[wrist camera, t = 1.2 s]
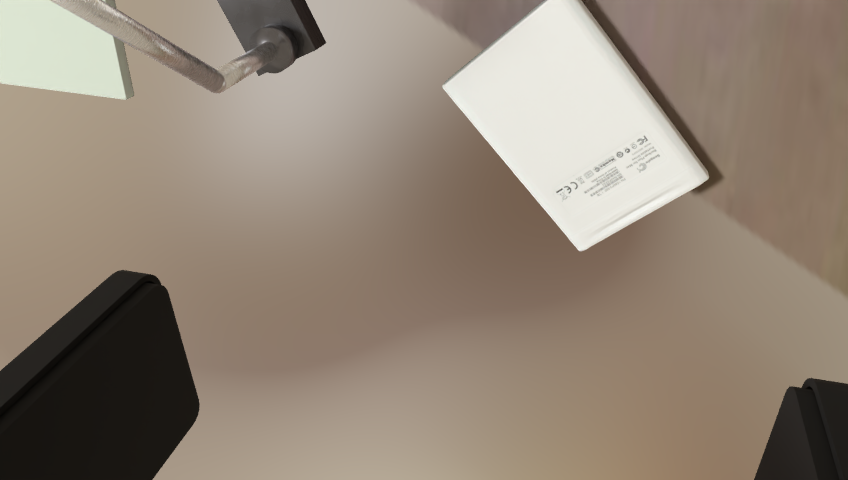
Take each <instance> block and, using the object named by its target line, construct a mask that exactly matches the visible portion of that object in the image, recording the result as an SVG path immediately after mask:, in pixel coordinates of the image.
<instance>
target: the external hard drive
mask: <svg viewBox="0 0 848 480" xmlns="http://www.w3.org/2000/svg"><path fill="white" fill-rule="evenodd" d="M442 88H443V89H444V90H445V91H446V92H447V94H448V95H449V96H450V97H451V98H452V100H453V101H454V102H455V103H456V105H457V106H458V107H459V108H460V109H461V110H462V112H463V113H464V114H465V115H466V116H467V117H468V119H469V120H470V121H471V122H472V123H473V125H474V126H475V127H476V128H477V129H478V130H479V132H480V133H481V134H482V135H483V137H484V138H485V139H486V140H487V141H488V142H489V144H490V145H491V146H492V147H493V149H494V150H495V151H496V152H497V153H498V155H499V156H500V157H501V158H502V159H503V160H504V162H505V163H506V164H507V165H508V166H509V168H510V169H511V170H512V171H513V173H514V174H515V175H516V176H517V177H518V178H519V180H520V181H521V182H522V183H523V184H524V186H525V187H526V188H527V189H528V190H529V192H530V193H531V194H532V195H533V196H534V197H535V199H536V200H537V201H538V202H539V203H540V205H541V206H542V207H543V208H544V209H545V211H546V212H547V213H548V214H549V215H550V217H551V218H552V219H553V220H554V221H555V223H556V224H557V225H558V226H559V227H560V229H561V230H562V231H563V232H564V233H565V234H566V236H567V237H568V238H569V239H570V241H571V242H572V243H573V244H574V245H575V246H576V247H577V249H578V250H579V251H583V250H586V249H588V248H590V247H591V246H593V245H595V244H596V243H598V242H600V241H602V240H604V239H605V238H607V237H609V236H610V235H612V234H614V233H616V232H618V231H619V230H621V229H623V228H625V227H626V226H628V225H630V224H631V223H633V222H635V221H637V220H639V219H641V218H642V217H644V216H646V215H648V214H650V213H651V212H653V211H655V210H657V209H658V208H660V207H662V206H664V205H665V204H667V203H669V202H671V201H673V200H674V199H676V198H678V197H680V196H682V195H683V194H685V193H687V192H689V191H690V190H692V189H694V188H696V187H698V186H700V185H701V184H702V183H704V182H705V181H706V180H708V179H709V174H708V171H707V170H706V168H705V167H704V166H703V164H702V163H701V161H700V160H699V159H698V157H697V156H696V155H695V153H694V152H693V150H692V149H691V148H690V146H689V145H688V144H687V142H686V141H685V140H684V138H683V137H682V136H681V134H680V133H679V131H678V130H677V129H676V127H675V126H674V125H673V123H672V122H671V121H670V119H669V118H668V117H667V115H666V114H665V112H664V111H663V110H662V108H661V107H660V106H659V104H658V103H657V102H656V100H655V99H654V97H653V96H652V95H651V93H650V92H649V91H648V89H647V88H646V87H645V85H644V84H643V83H642V81H641V80H640V79H639V77H638V76H637V75H636V73H635V72H634V71H633V69H632V68H631V67H630V65H629V64H628V63H627V61H626V60H625V58H624V57H623V56H622V54H621V53H620V52H619V50H618V49H617V48H616V46H615V45H614V44H613V42H612V41H611V40H610V38H609V37H608V36H607V34H606V33H605V32H604V30H603V29H602V27H601V26H600V25H599V23H598V22H597V21H596V19H595V18H594V17H593V15H592V14H591V13H590V11H589V10H588V9H587V7H586V6H585V5H584V3H583V2H582V1H581V0H544V1H543V2H542V3H541V4H539V5H538V6H537V7H536V8H534V9H533V10H532V11H531V12H530V13H528V14H527V15H526V16H525V17H523V18H522V19H521V20H520V21H519V22H517V23H516V24H515V25H514V26H513V27H511V28H510V29H509V30H508V31H506V32H505V33H504V34H503V35H502V36H500V37H499V38H498V39H497V40H496V41H494V42H493V43H492V44H491V45H489V46H488V47H487V48H486V49H485V50H483V51H481V52H480V53H479V54H478V55H477V56H475V57H474V58H473V59H472V60H471V61H469V62H468V63H467V64H466V65H464V66H463V67H462V68H461V69H460V70H458V71H457V72H456V73H455V74H454V75H452V76H451V77H450V78H449V79H448V80H447V81H446V82H445V83H444V84H443V86H442Z"/></svg>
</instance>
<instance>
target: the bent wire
mask: <svg viewBox="0 0 848 480" xmlns="http://www.w3.org/2000/svg"><path fill="white" fill-rule="evenodd" d="M50 1H52V2H54V3H55V4H57V5H59V6H61V7H62V8H64V9H66V10H68V11H70V12H71V13H73V14H75V15H77V16H78V17H80V18H82V19H84V20H85V21H87V22H89V23H91V24H92V25H94V26H96V27H98V28H100V29H101V30H103V31H105V32H107V33H108V34H110V35H112V36H114V37H115V38H117V39H119V40H121V41H122V42H124V43H126V44H128V45H130V46H131V47H133V48H135V49H137V50H138V51H140V52H142V53H144V54H145V55H147V56H149V57H151V58H153V59H154V60H156V61H158V62H160V63H161V64H163V65H165V66H167V67H168V68H170V69H172V70H174V71H175V72H177V73H179V74H181V75H182V76H184V77H186V78H188V79H189V80H191V81H193V82H195V83H197V84H198V85H200V86H202V87H204V88H206V89H207V90H209V91H211V92H213V93H221V92H223V91H225V90H226V89H228V88H230V87H231V86H233V85H234V84H236V83H238V82H239V81H241V80H242V79H244V78H246V77H247V76H249V75H250V74H252V73H254V72H255V71H256V72H257V74H258V76H260V75H262V74H264V73H266V72H269V73H279V72H281V71H283V70H284V69H286V68H287V67H289V66H290V65H292V64H293V63H294V61H295V60H296V59H297V58H299V57H301V56H304V55H306V54H308V53H310V52H312V51H315V50H316V49H318V48H319V47H321V46H322V45H324V44H325V43H326V41H325V40H324V37H323V35H322V33H321V32H320V29H319V27H318V25H317V24H316V21H315V19H314V18H313V15H312V13H311V11H310V9H309V7H308V6H307V3H306V1H305V0H217V1H218V3H219V4H220V6H221V8H222V10H223V12H224V14H225V15H226V17H227V19H228V21H229V23H230V24H231V26H232V28H233V30H234V32H235V33H236V35H237V37H238V39H239V41H240V43H241V44H242V46H243V48H244V50H245V52H246V53H245V54H243V55H241V56H239V57H238V58H236V59H234V60H232V61H230V62H229V63H227V64H225V65H223V66H221V67H220V68H218V69H214V68H212V67H211V66H209V65H208V64H206V63H204V62H203V61H201V60H199V59H198V58H196V57H194V56H193V55H191V54H189V53H188V52H186V51H185V50H183V49H181V48H180V47H178V46H176V45H175V44H173V43H171V42H170V41H168V40H167V39H165V38H163V37H162V36H160V35H158V34H157V33H155V32H153V31H152V30H150V29H148V28H147V27H145V26H144V25H142V24H140V23H139V22H137V21H135V20H134V19H132V18H130V17H129V16H127V15H125V14H124V13H122V12H121V11H119V10H117V9H116V8H114V7H112V6H111V5H109V4H107V3H106V2H104V1H103V0H50Z"/></svg>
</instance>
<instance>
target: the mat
mask: <svg viewBox="0 0 848 480" xmlns="http://www.w3.org/2000/svg"><path fill="white" fill-rule="evenodd" d="M103 1H104V2H106V3H107V4H109V5H111V6H112V7H114V8H116V4H115V0H103ZM0 83H3V84H11V85H18V86H26V87H33V88H42V89H49V90H56V91H64V92H72V93H80V94H87V95H95V96H102V97H110V98H117V99H126V100H127V99H129V98H130V97H133V96H134V92H133V87H132V82H131V77H130V72H129V68H128V63H127V58H126V53H125V48H124V43H123V42H122V41H121V40H119V39H117V38H115V37H114V36H112V35H110V34H108V33H107V32H105V31H103V30H101V29H100V28H98V27H96V26H94V25H92V24H91V23H89V22H87V21H85V20H84V19H82V18H80V17H78V16H77V15H75V14H73V13H71V12H70V11H68V10H66V9H64V8H62V7H61V6H59V5H57V4H55V3H54V2H52V1H50V0H0Z"/></svg>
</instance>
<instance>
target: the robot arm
mask: <svg viewBox="0 0 848 480" xmlns="http://www.w3.org/2000/svg"><path fill="white" fill-rule="evenodd" d="M198 412H199V399H198V396H197V392H196V388H195V385H194V381H193V378H192V374H191V371H190V368H189V364H188V360H187V357H186V354H185V350H184V346H183V343H182V340H181V336H180V332H179V329H178V325H177V322H176V318H175V315H174V311H173V308H172V304H171V301H170V297H169V294H168V291H167V289H166V288H165V287H164V286H162V285H161V283H160V281H159V279H158V278H157V277H156V276H154V275H151V274H144V273H138V272H132V271H124V270H121V271H117V272H115V273H114V274H112V275H111V276H110V277H108V278H107V279H106V280H105V281H104V282H103V283H101V284H100V285H99V286H98V287H97V288H96V289H95V290H93V291H92V292H91V293H90V294H89V295H88V296H86V297H85V298H84V299H83V300H82V301H81V302H79V303H78V304H77V305H76V306H75V307H74V308H73V309H71V310H70V311H69V312H68V313H67V314H66V315H65V316H63V317H62V318H61V319H60V320H59V321H57V322H56V323H55V324H54V325H53V326H52V327H51V328H49V329H48V330H47V331H46V332H45V333H44V334H42V335H41V336H40V337H39V338H38V339H37V340H36V341H34V342H33V343H32V344H31V345H30V346H29V347H27V348H26V349H25V350H24V351H23V352H22V353H20V354H19V355H18V356H17V357H16V358H15V359H13V360H12V361H11V362H10V363H9V364H8V365H7V366H5V367H4V368H3V369H2V370H1V371H0V480H152V479H153V478H154V477H155V475H156V474H157V473H158V471H159V470H160V468H161V467H162V466H163V464H164V463H165V462H166V460H167V459H168V458H169V456H170V455H171V454H172V452H173V451H174V450H175V448H176V447H177V446H178V444H179V443H180V441H181V440H182V439H183V437H184V436H185V435H186V433H187V432H188V431H189V429H190V428H191V427H192V425H193V424H194V422H195V421H196V418H197V416H198ZM754 480H848V384H844V383H838V382H832V381H826V380H819V379H813V378H809V379H807V380H806V381H805V382H804V384H803V386H802V388H799V387H789V388H788V389H787V391H786V393H785V396H784V398H783V401H782V404H781V407H780V409H779V413H778V415H777V418H776V421H775V424H774V426H773V429H772V432H771V435H770V437H769V440H768V443H767V445H766V449H765V451H764V454H763V457H762V459H761V462H760V465H759V468H758V470H757V473H756V476H755V479H754Z"/></svg>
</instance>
